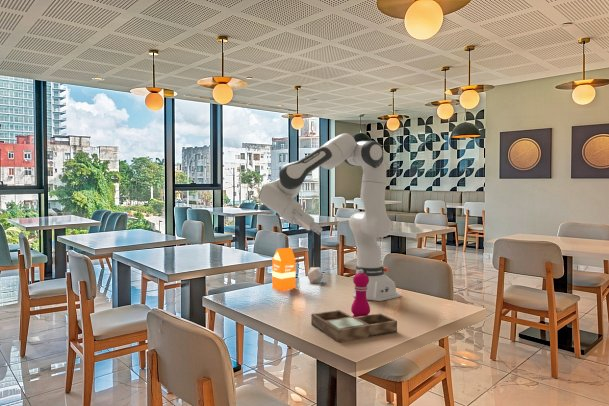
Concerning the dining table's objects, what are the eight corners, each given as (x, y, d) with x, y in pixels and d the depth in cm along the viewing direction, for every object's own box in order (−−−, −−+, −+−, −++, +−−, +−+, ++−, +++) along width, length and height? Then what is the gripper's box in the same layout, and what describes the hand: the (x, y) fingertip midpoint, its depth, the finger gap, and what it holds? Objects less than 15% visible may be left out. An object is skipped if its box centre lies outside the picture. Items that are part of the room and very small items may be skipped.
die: (317, 286, 226) (327, 270, 229) (303, 277, 227) (313, 261, 230) (317, 288, 234) (326, 272, 236) (303, 279, 235) (312, 264, 238)
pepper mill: (349, 318, 172) (350, 267, 171) (367, 317, 173) (368, 267, 172) (353, 324, 165) (353, 271, 164) (372, 323, 166) (372, 271, 164)
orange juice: (272, 288, 219) (272, 248, 218) (286, 285, 225) (286, 246, 224) (280, 291, 213) (281, 250, 212) (295, 288, 219) (295, 248, 218)
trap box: (365, 316, 175) (365, 305, 174) (396, 332, 157) (397, 320, 156) (311, 324, 164) (311, 313, 164) (338, 342, 146) (338, 329, 146)
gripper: (297, 201, 168) (326, 222, 166) (298, 209, 188) (324, 228, 187) (287, 215, 167) (317, 236, 166) (289, 221, 187) (316, 240, 186)
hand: (321, 232), depth 176 cm, fingers open, 8 cm apart
